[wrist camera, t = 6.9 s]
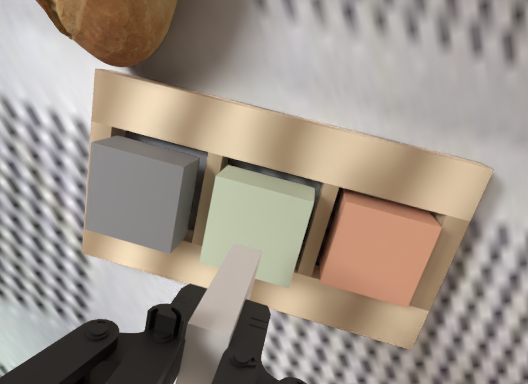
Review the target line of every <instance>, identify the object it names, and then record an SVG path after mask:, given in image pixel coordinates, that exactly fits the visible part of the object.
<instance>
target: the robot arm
mask: <svg viewBox="0 0 528 384" xmlns="http://www.w3.org/2000/svg"><path fill="white" fill-rule="evenodd" d="M261 253H262V251H260V250H257V249H253V248H250V247H246V246H243V245H239V244H236V243H234V244H233V245H232V247H231V249H230V251H229V252H228V254H227V256H226V258H225V259H224V261H223V263H222V264H221V266H220V268H219V270H218V271H217V273H216V275H215V277H214V278H213V280H212V282H211V284H210V285H209V287H208V289H207V288H204V287H201V286H197V285H194V284H191V283H190V284H188V285H187V286H185V287H183V288H181V290H180V291H179V293H178V294H177V295H176V297H175V298H174V300H173V301H172V303H171V304H158V305H156V306H153V307H152V308H150V309H149V310H148V313H147V320H146V326H145V330H144V332H140V333H119V328H118V326H117V325H116V324H115V323H114V322H112V321H109V320H106V319H97V320H91V321H89V322H87V323H84V324H83V325H81V326H80V327H78V328H76V329H75V330H73V331H72V332H70V333H69V334H67V335H66V336H64V337H63V338H61V339H59V340H58V341H56V342H55V343H53V344H52V345H50V346H49V347H47V348H45V349H44V350H42V351H41V352H39V353H38V354H36V355H35V356H33V357H32V358H30V359H28V360H27V361H25V362H24V363H22V364H21V365H19V366H18V367H16V368H15V369H13V370H11V371H10V372H8V373H7V374H5V375H4V376H2V377H1V378H0V384H173V383H174V381H175V379H176V377H177V380H176V384H307V383H305V382H303V381H302V380H300V379H297V378H293V377H287V378H284V379H282V380H280V381H279V380H277V379H276V378H274V377H273V376H271V375H270V374H269V373H268V372H267V371H266V370H265V369H264V367H263V365H262V362H261V354H262V350H263V346H264V341H265V337H266V333H267V328H268V324H269V320H270V315H271V314H270V311H269V308H268V306H267V305H264V304H260V303H257V302H254V301H250V300H249V299H250V296H251V292H252V288H253V284H254V280H255V277H256V273H257V269H258V265H259V261H260V257H261Z"/></svg>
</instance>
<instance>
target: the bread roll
mask: <svg viewBox="0 0 528 384" xmlns="http://www.w3.org/2000/svg"><path fill="white" fill-rule="evenodd" d="M36 1H37V2H38V3H39V4H40V6H41V7H42V8H43V9H44V10H45V12H46V13H47V15H48V16H49V18H50V19H51V21H52V22H53V23H54V25H55V26H56V28H57V29H58V30H59V31H60V32H61V33H62V34H64V35H66V36H68V37H69V38H70V39H73V40H74V41H75V42H76V43H77V44H79V45H80V46H81V47H82V48H84V49H85V50H86V51H88V52H89V53H90V54H92V55H93V56H94V57H96V58H97V59H99V60H100V61H102V62H104V63H106V64H109V65H112V66H117V67H128V66H133V65H136V64H138V63H140V62H142V61H143V60H145V59H147V58H149V57H150V56H151V55H152V54H153V53H154V52H155V51H156V50H157V48H158V47H159V46H160V44H161V43H162V41H163V40H164V38H165V36H166V34H167V32H168V30H169V27H170V23H171V21H172V18H173V15H174V12H175V8H176V5H177V1H178V0H36Z"/></svg>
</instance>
